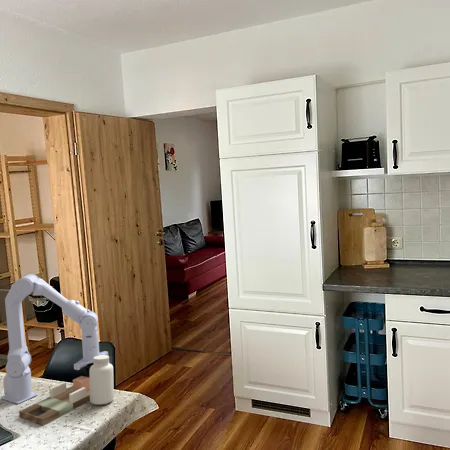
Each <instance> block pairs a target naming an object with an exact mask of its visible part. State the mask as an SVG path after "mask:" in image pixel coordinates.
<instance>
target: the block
mask: <svg viewBox="0 0 450 450" xmlns="http://www.w3.org/2000/svg"><path fill="white" fill-rule="evenodd" d="M72 386H73V390H74V391H77V390H79V389H81V388H83V387H85V388H86V390H88V389H90V379H89V377H88V376H83V375H80V376H78V377H76V378H74V379H72Z"/></svg>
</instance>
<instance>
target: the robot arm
mask: <svg viewBox="0 0 450 450" xmlns="http://www.w3.org/2000/svg"><path fill="white" fill-rule="evenodd" d="M32 293H33V294H32ZM31 294H32V296H43V297H45V298H46V299H48V300H50V301H51V302H52V303H54V305H55V304H56V305H57V306H59V307H60V308H61V310H62V311H61V312H62V314H64V315H65V316H67V317H68V318H70V319H71V320H72V321H74V322H75V323H76V324H78V326H79V328H80V329H81V344H82V345H81V346H82V358H81V359H79V361H77V362H75V363H73V369H74V371H75V370H76V371H79V370H81V369H83V370H84V371H85V373H86V376H87V377H89V379H90V375H89V370H90V367H91V366H92V365H94V364H93V363H94V362H93V358H94V357H95V356H99V355H107V356H109V351H106V350H104V351H100V342H99V332H98V331H99V330H98V325H97V323H98V321H99V319H98V318H99V317H98V314H97V313H95V312H94V311H93V310H90V309H89V308H85V307H84V306H83V305H81V304H80V300H74V299H67V298H66V297H65V296H63V295H62V294H61V293H60V292H58V291H57V290H56V289H55V288H54V287H52V286H51V285H50V284H49V283H48V282H46V281H45V280H44V279H43V278H41V277H39V276H37V275H36V274H35V273H28V274H25V275H24V276H22V277H21V278H19V279H17V280H15V282H13V283H12V284H11V287H10V289H9V291H8V293H7V294H6V296H5V299H4V303H5V304H4V305H5V314H6V315H5V317H6V326H7V327H6V328H7V335H8V346H9V347H8V348H9V349H8V353H7V362H6V365H5V372H6V374H5V376H3V377H4V378H3V393H4V396H2V399H3V400H5V401H7V402H11V403H13V404H17V405H18V404H22V403H23V402H25V401H28V400H29V399H32V398H35V397H36V396H38V395H39V394H38V393H37V392H34V391H33V387H32V386H33V384H32V371H31V368H30V367H29V366H30V365H31V363H32V356H31V354H30V352H29V349H28V348H29V347H28V346H27V345H26V340H25V328H24V317H23V315H24V314H23V305H22V302H23V300H25V298H26V297H27V296H29V295H31Z"/></svg>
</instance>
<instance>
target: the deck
mask: <svg viewBox="0 0 450 450" xmlns="http://www.w3.org/2000/svg"><path fill="white" fill-rule="evenodd" d="M66 390H67V391H65V392H63V393H61V394H59V395H57V396H55V397H53V398H52V397H50V396H49V397H45V398H44V399H42V400H40V401H38V402H36V403H34V404H32V405H30V406H27V407H25V408H24V409H20V410H19V411H18V413H19V418H20V419H23V420H25V421H29V422H31V423H34V424H38V425H40V426H42V427H43V426H46V425H48V424H49V423H51V422H53V421H55V420H56V419H59V418H60V417H62V416H64V415H66V414H68V413H70V412H72V411H73V410H75V409H77V408H79V407H81V406H83V405H85V404H87V403H88V402H90V389H88V390H86V397H84V398H82V399H80V400H78V401H76V402H74V403H73V404H72V403H70V398H69V394H71V393H73V392H75V391H74V390H73V385H71V386H69V387H66Z"/></svg>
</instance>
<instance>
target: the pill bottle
mask: <svg viewBox="0 0 450 450" xmlns="http://www.w3.org/2000/svg"><path fill="white" fill-rule="evenodd" d="M93 362H94V363H93V364H94V365H92V366H91V367H90V370H89V375H90V401H89V402H90V403H91V404H92V405H106V404H109V403H111V402H112V401H113V400H114V398H115V397H114V395H115V391H114V390H115V389H114V387H115V386H114V366H113V364H112V363H110V356H109V355H108V356H107V355H99V356H95V357H94V358H93Z"/></svg>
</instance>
